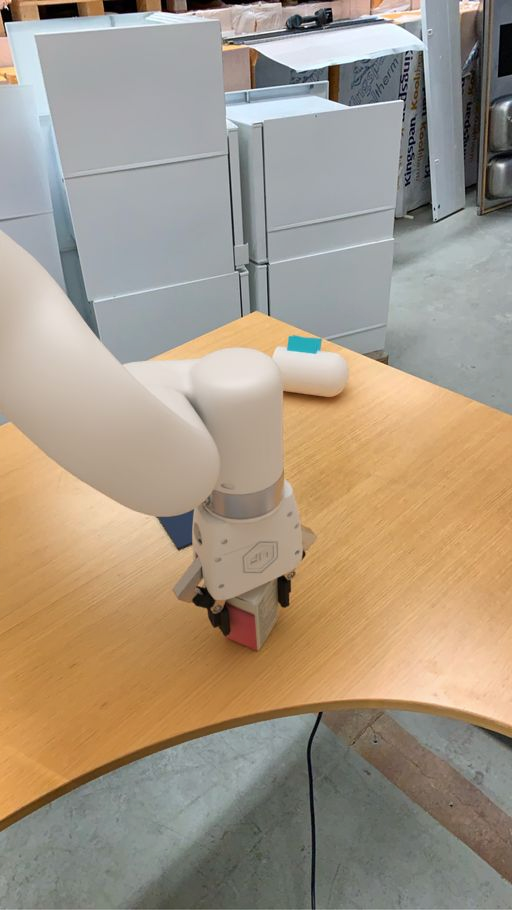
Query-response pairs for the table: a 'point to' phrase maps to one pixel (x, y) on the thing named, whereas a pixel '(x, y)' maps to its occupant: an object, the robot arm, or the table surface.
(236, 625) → the small box
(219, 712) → the table surface
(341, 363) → the white rounded piece
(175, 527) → the cloth
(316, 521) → the table surface
